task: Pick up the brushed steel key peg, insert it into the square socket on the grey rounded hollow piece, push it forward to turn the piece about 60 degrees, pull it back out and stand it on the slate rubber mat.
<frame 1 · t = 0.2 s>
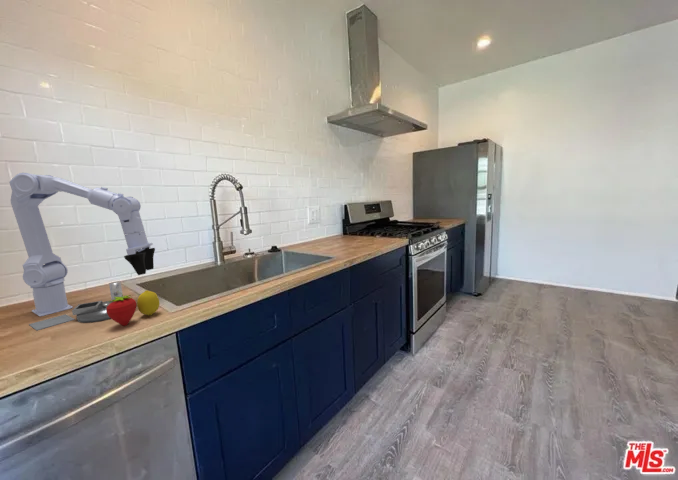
hand: (146, 271, 98), 11 cm above the countertop, tool pointing down, fingers open, 7 cm apart
mat: (52, 322, 84), on the countertop
lemon: (150, 316, 86), on the countertop
key: (117, 302, 100), on the countertop
grey rounded hollow piece: (106, 307, 89), point 2 cm above the countertop, hinge at 0.0°
strawberry: (124, 326, 80), on the countertop
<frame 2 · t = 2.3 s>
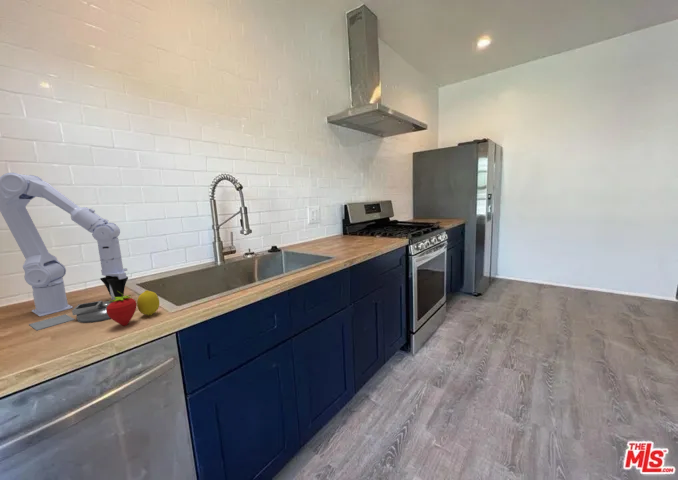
hand: (117, 296, 100), 2 cm above the countertop, tool pointing down, fingers closed on key, 3 cm apart
key: (118, 302, 100), on the countertop, touching gripper
everything else where it was.
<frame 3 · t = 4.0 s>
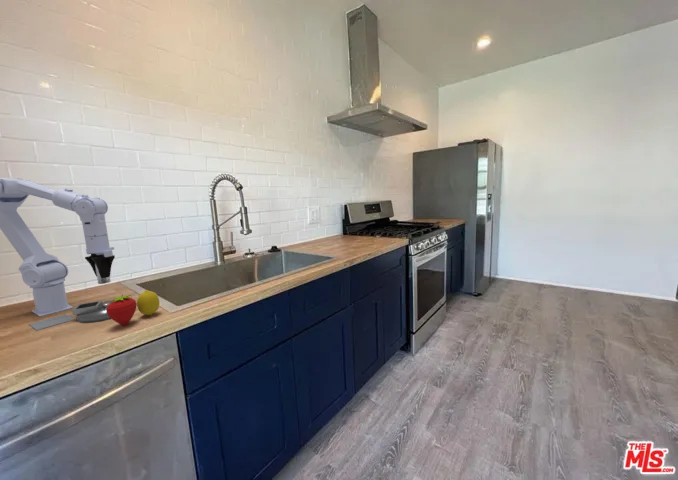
hand: (103, 276, 94), 10 cm above the countertop, tool pointing down, fingers closed on key, 3 cm apart
key: (104, 282, 94), point 8 cm above the countertop, touching gripper
everything else where it was.
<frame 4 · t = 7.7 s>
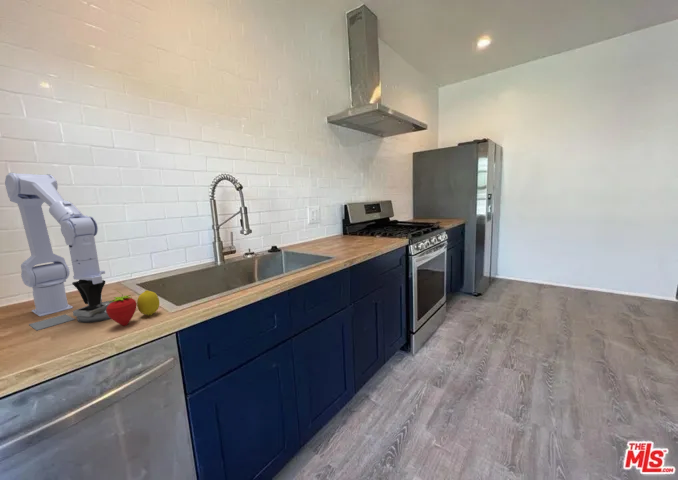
hand: (92, 304, 85), 5 cm above the countertop, tool pointing down, fingers closed on key, 3 cm apart
key: (95, 309, 85), point 3 cm above the countertop, touching grey rounded hollow piece, gripper
grey rounded hollow piece: (106, 307, 89), point 2 cm above the countertop, hinge at 50.7°, touching key
everything else where it was.
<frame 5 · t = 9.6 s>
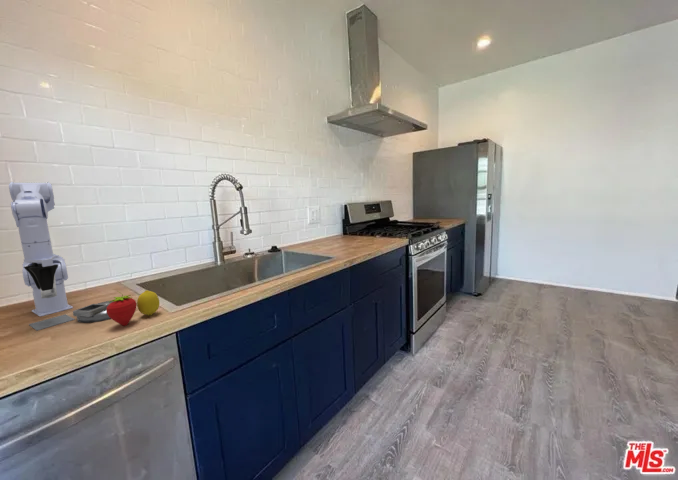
hand: (45, 289, 82), 10 cm above the countertop, tool pointing down, fingers closed on key, 3 cm apart
key: (49, 296, 83), point 8 cm above the countertop, touching gripper
grey rounded hollow piece: (106, 307, 89), point 2 cm above the countertop, hinge at 50.9°
everything else where it was.
when the fingers open (3 cm above the countertop, at t = 11.5 s): key stays where it is, resting on mat.
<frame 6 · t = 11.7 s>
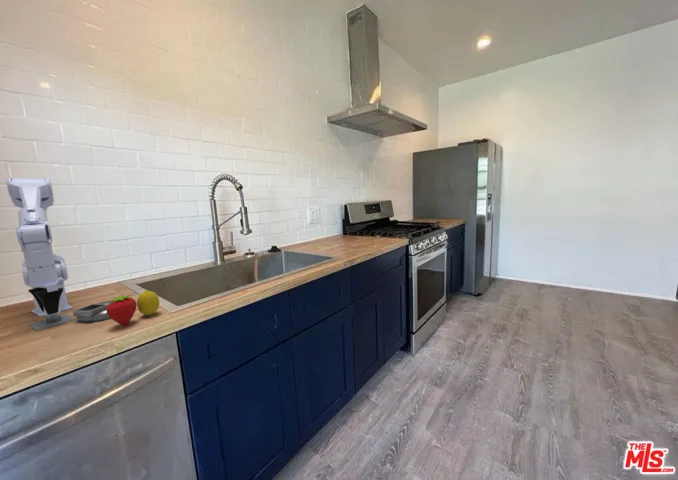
hand: (50, 311, 83), 3 cm above the countertop, tool pointing down, fingers open, 4 cm apart
key: (54, 320, 84), resting on mat
everything else where it was.
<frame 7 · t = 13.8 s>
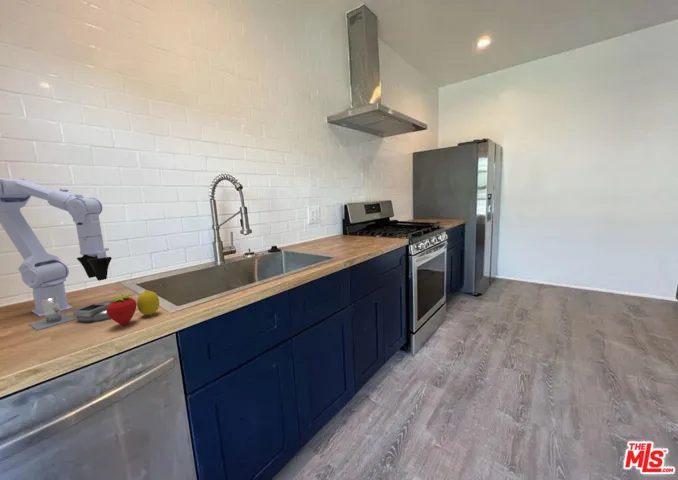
hand: (97, 278, 92), 10 cm above the countertop, tool pointing down, fingers open, 7 cm apart
nothing on the countertop moved.
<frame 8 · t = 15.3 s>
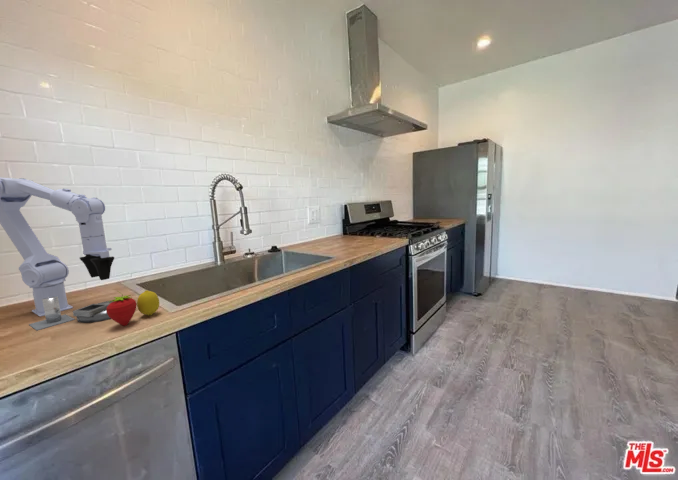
hand: (100, 278, 92), 10 cm above the countertop, tool pointing down, fingers open, 7 cm apart
nothing on the countertop moved.
at the end: grey rounded hollow piece at +51° (first picture: +0°); key inside the target area (0.5 cm from its centre), resting on mat; key tilted 1° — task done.
